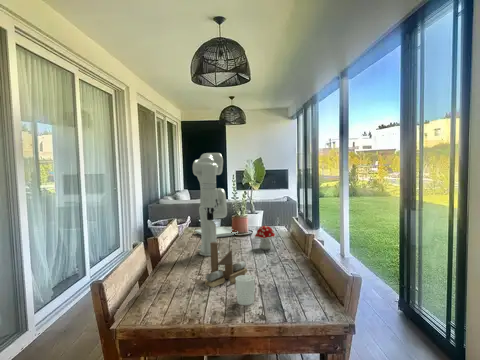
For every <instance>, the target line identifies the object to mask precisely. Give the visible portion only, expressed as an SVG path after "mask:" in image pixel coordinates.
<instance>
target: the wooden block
mask: <svg viewBox="0 0 480 360" xmlns="http://www.w3.org/2000/svg"><path fill="white" fill-rule="evenodd" d="M218 243H219V242H218V241H217V242H211V243H210V247H211V256H210V273H213V272H215V271H218V270H219V266H224V270H223V269H221V270H222V272H223V277H222V278H224V280H230V275H232V274H233V264H234V263H233V249H230V250H229V251H228V252H227V253H226V255H224V256H223V257H222V258H221V260H220V261H219V254H218V250H219V246H218Z"/></svg>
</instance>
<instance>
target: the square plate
mask: <svg viewBox="0 0 480 360" xmlns="http://www.w3.org/2000/svg"><path fill="white" fill-rule="evenodd" d="M232 230H233V229H232V228H230V227H226V226H216V236H217V238H224V237H225V238H226V237H232V236H235V235H237V234H238V233H239V231H237V232H232ZM194 232H195V233H196V234H198V235H201V228H199V229H194ZM231 232H232V233H231ZM236 233H237V234H236ZM234 234H235V235H234Z"/></svg>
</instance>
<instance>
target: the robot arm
mask: <svg viewBox="0 0 480 360" xmlns="http://www.w3.org/2000/svg"><path fill="white" fill-rule="evenodd" d="M223 168H224V158H223V156H222V153H220V152H206V153H205V152H204V153H202V154H201V155H200V157H199V158H198V159H195V160H194V161H193V163H192V173H193V175H194V176H195V177H197V180H198V182H199V187H200V194H199V195H200V197H199V198H200V200H199V203H200V204H199V205H200V206H199V207H198V213H199V218H200V229H201V234H200V235H201V236H200V237H201V245H198V249H199V250H200V251H199V255H201V256H205V257H208V256H209V257H211V247H210V243H211V242H217V243H218V241H217V236H216V227H217V224H216V223H215V222H214V219H224V218H226V217H227V215H228V204H227V195H226V194H227V193H226V191H225V189H224V188H221V187H218V188H217V176H220V175H222V173H223V170H224V169H223ZM219 254H220V250H219V249H218V255H219Z"/></svg>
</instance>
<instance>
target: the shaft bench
mask: <svg viewBox="0 0 480 360" xmlns="http://www.w3.org/2000/svg"><path fill="white" fill-rule="evenodd" d="M232 264H233V274H232V275H230V279H229V284H231V285H233V284H236V280H235V278H236V277H237V276H240V275H246V274H247V273H248V268H247V267H246V266H247V265H246V262H245V261H244V260H241V261H238V262H236V263H232ZM222 270H223V269H218V271H215V272H213V273H211V272H209V273H207V274H206V276H205V278H206V280H205V282H204V284H205V286H207V287H211V288H215V287H217V286H220V285H221V284H224V283H225V280H226V279H224V278H222V277H223V272H222Z"/></svg>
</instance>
